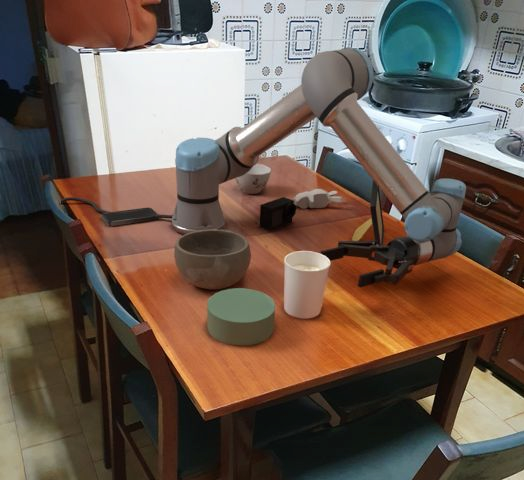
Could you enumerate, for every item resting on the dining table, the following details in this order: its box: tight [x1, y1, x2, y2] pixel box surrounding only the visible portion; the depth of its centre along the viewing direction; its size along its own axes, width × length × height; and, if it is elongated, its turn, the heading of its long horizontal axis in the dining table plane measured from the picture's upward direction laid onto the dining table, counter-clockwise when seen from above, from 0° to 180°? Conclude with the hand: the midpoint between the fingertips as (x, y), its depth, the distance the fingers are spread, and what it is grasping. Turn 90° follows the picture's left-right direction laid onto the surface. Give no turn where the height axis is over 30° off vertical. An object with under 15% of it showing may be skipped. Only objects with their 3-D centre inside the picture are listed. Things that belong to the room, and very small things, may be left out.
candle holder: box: [283, 250, 332, 320], centre depth 119 cm, size 10×10×12 cm
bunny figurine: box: [292, 188, 344, 210], centre depth 176 cm, size 10×5×15 cm
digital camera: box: [258, 196, 297, 232], centre depth 160 cm, size 10×5×7 cm, turn 138°
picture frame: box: [351, 179, 385, 246], centre depth 151 cm, size 23×9×15 cm, turn 168°
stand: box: [206, 287, 276, 347], centre depth 113 cm, size 14×14×6 cm
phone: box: [101, 207, 159, 227], centre depth 160 cm, size 8×1×15 cm
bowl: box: [173, 229, 252, 290], centre depth 129 cm, size 17×18×10 cm
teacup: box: [234, 163, 272, 195], centre depth 185 cm, size 15×12×8 cm
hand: (339, 268), depth 122 cm, fingers open, 13 cm apart
